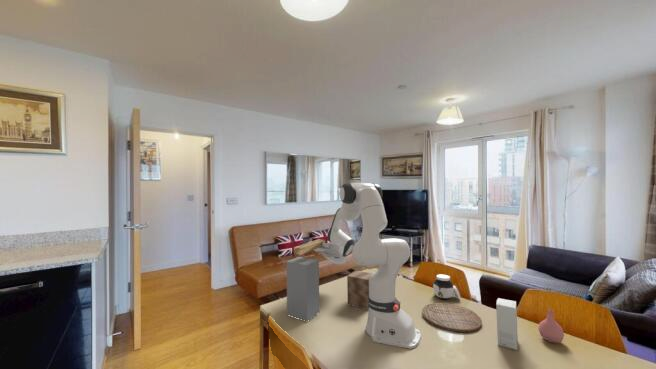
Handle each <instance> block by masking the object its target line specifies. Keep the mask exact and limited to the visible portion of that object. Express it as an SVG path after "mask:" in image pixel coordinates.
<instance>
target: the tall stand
mask: <svg viewBox="0 0 656 369" xmlns="http://www.w3.org/2000/svg"><path fill="white" fill-rule="evenodd" d="M319 270H320V260H319V259H316V258H308V257H302V256H297V257H296V258H295V257H294V258H293V259H289V260H287V261H286V316H287V315H290V316H293V317H296V318H299V319H302V320H305V321H308V320H310V319H311V318H312V317H313V316H314V315H316V314H317V313H318V312H319V313H320V271H319ZM316 316H317V315H316ZM312 319H313V318H312ZM312 319H311V320H312ZM302 320H301V321H302ZM311 320H310V321H311ZM305 321H304V322H305Z"/></svg>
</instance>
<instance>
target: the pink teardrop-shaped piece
mask: <svg viewBox="0 0 656 369" xmlns="http://www.w3.org/2000/svg"><path fill="white" fill-rule="evenodd" d="M538 331H539V334H540V335H539V336H541V337H542V338H543V339H545V340H547V341H548V342H549V343H561V342H563V340H564V337H565V333H564V329H563V327H562V326H561V325H559V323H558V322H557V321H556V319H555V317H554V310H553V309H550V308H548V309H547V316H546V318H545V319H543V320H542V321H540V322H539V324H538Z"/></svg>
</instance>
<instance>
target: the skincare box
mask: <svg viewBox="0 0 656 369" xmlns="http://www.w3.org/2000/svg"><path fill="white" fill-rule="evenodd" d="M495 305H496V330H497V332H496V334H497V345H498V346H500V347H504V348H508V349H511V350H514V351H518V343H519V342H518V340H519V338H518V312H517V310H518V309H517V301H516V300H510V299H505V298H500V297H498V298H497V299H496V304H495Z"/></svg>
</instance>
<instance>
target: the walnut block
mask: <svg viewBox="0 0 656 369" xmlns="http://www.w3.org/2000/svg"><path fill="white" fill-rule="evenodd" d="M372 274H374V273H372V272H366V271H361V270H354V271H352V272H351V273H349V274H348V275H347V278H346V279H347V282H346V283H347V286H346V287H347V288H346V290H347V291H346V292H347V305H348V304H350V305H349V306H351V305H354V306H353V307H355V306H358V307H357V308H359V307H361V308H360V309H363V308H365V309H364V310H367V309H368V296H369V279H370V277H371V275H372ZM368 311H369V309H368Z"/></svg>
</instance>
